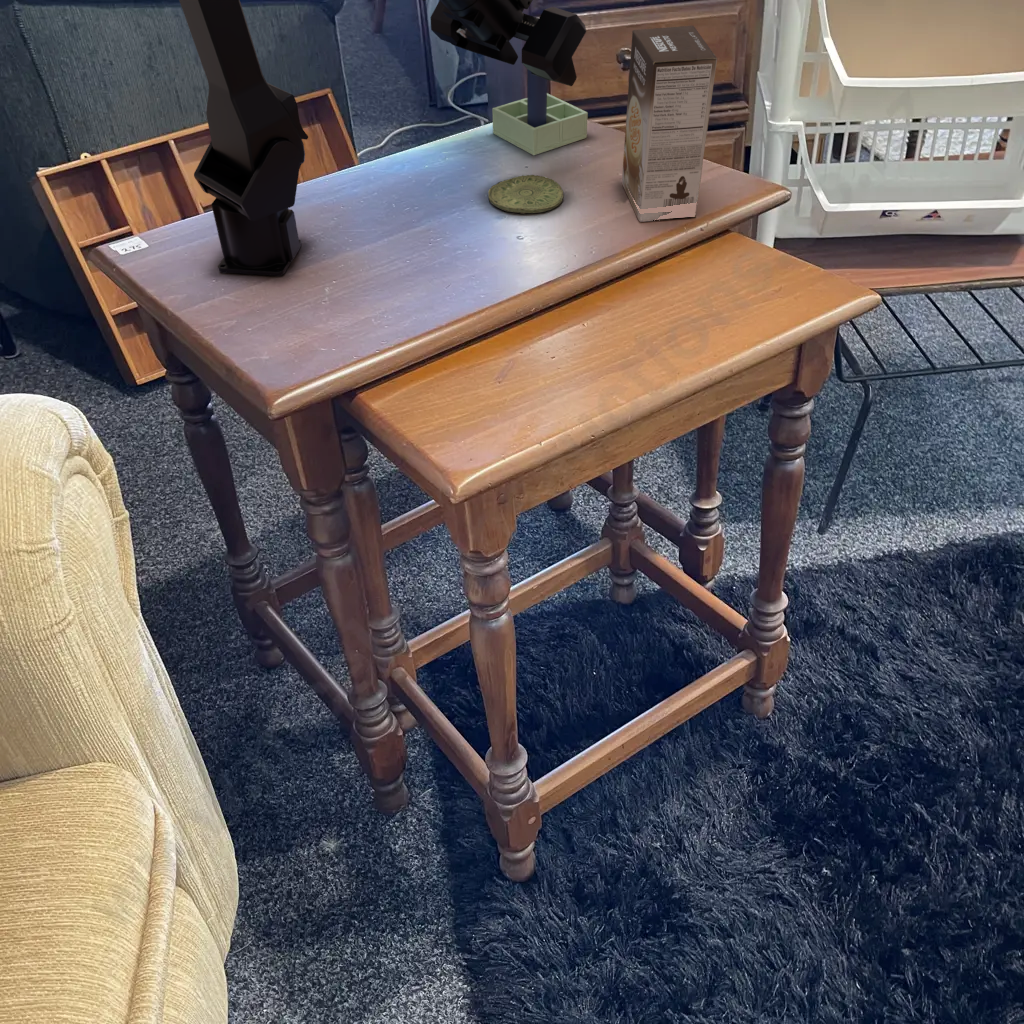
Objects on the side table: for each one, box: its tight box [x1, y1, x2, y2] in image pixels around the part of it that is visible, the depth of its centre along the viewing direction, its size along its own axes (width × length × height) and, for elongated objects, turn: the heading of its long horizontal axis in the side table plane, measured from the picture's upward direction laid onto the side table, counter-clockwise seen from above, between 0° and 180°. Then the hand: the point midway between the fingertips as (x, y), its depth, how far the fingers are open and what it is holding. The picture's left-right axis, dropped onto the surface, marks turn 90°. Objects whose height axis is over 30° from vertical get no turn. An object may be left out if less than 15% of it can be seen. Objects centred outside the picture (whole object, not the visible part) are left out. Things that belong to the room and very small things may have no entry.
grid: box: [491, 92, 589, 156], centre depth 116 cm, size 8×8×3 cm
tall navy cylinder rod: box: [526, 68, 548, 128], centre depth 110 cm, size 2×2×12 cm
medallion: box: [487, 174, 564, 215], centre depth 105 cm, size 8×8×1 cm
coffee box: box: [621, 25, 718, 223], centre depth 99 cm, size 9×6×16 cm
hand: (543, 71), depth 110 cm, fingers open, 9 cm apart
